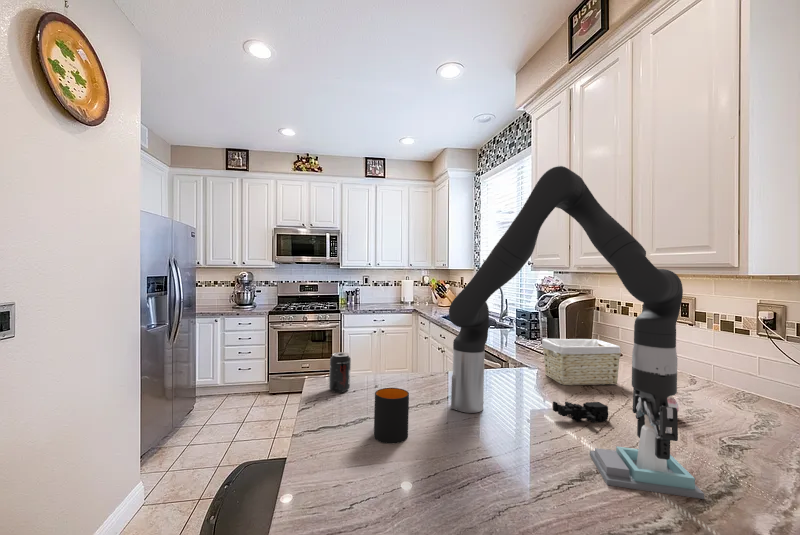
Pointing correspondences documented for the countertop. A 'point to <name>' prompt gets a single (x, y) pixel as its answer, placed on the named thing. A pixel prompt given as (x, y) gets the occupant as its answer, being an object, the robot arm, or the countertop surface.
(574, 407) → the toy
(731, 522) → the countertop surface
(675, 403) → the onion
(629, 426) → the countertop surface
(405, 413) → the mug
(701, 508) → the countertop surface
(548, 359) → the storage basket
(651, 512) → the countertop surface
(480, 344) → the robot arm
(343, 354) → the beverage can
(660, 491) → the grey and blue tray
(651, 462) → the salt shaker
